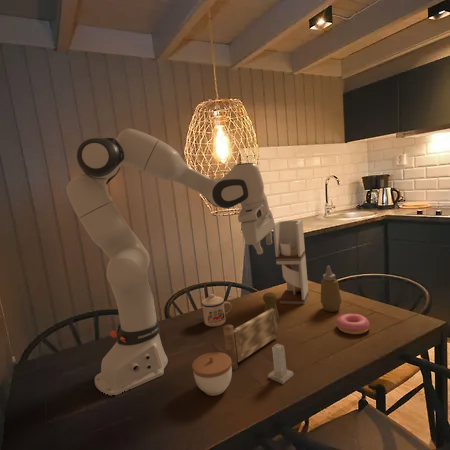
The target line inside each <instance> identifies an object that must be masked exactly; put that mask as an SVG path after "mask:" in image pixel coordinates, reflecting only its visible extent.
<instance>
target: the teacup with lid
mask: <svg viewBox="0 0 450 450" xmlns="http://www.w3.org/2000/svg"><path fill="white" fill-rule="evenodd" d="M225 305H228V309H227V311H226V310H225ZM201 306H202V312H203V320H204V324H205V326H207V327H219V326H222V325H223V324H225V322H226V321H227V319H226V315H227V314H229V313H230V312H231V311H232V304H231V303H230V302H229V301H225V300H224V298H223V297H221V296H218V295H217V296H216V295H215V294H214V293H210V294H209V296H208V297H206V298H204V299H203V300H202V301H201Z"/></svg>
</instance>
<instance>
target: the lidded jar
mask: <svg viewBox="0 0 450 450" xmlns="http://www.w3.org/2000/svg"><path fill="white" fill-rule="evenodd" d="M191 368H192V372H193V373H192V374H193V377H194V380H195V383H196V386H197V387H198V388H199V389H200V390H201V391H202V392H204V393H205V394H206V395H208V396H212V397H213V396H214V397H215V396H219V395H221V394H223V393H225V391H226V389H227V388H228V386H229V385H230V383H231V381H232V376H233V370H232V361H231V358H230V357H229V356H228V355H227V354H226V352H219V351H213V352H206V353H204V354H202V355H201V354H200V355H199V356H197V358H195V359H194V360H193V362H192V365H191Z"/></svg>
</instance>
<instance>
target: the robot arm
mask: <svg viewBox="0 0 450 450" xmlns="http://www.w3.org/2000/svg"><path fill="white" fill-rule="evenodd" d="M76 162H77V164H78V167H79V168H80V169H81V172H80V173H79V174H78V175H77V176H75V177H73V178H72V179H71V180H70V181H69V182H68V183H67V185H66V194H67V197H68V199H69V202H70V204H71V206H72V209H73V210H74V213H75V214H76V216H77V218H78V219H79V221H80V223H81V224H82V226H83V228H84V229H85V231H86V233H87V234H88V235H89V237H90V239H91V241H92V242H93V243H94V244H95V245H97V246H98V248H100V249H101V250H102V251H103V252H104V253H105V255H106V256H107V257H108V258H109V261H108V263H107V267H106V273H105V274H106V280H107V282H108V283H109V285H110V287H111V291H112V293H113V297H114V299H115V302H116V307H117V310H118V317H119V318H118V319H119V324H120V328H119V330H118V331H117V330H114V329H113V330H112V331H110V333H109V335H110V337H111V338H113V339H116V342H115V343H114V345H113V346H112V347H111V349H110V350H109V351H108V352H107V353H106V354H105V356H104V357H103V358H102V360H101V365H100V366H101V367H100V372H99V373H97V374H96V375H95V376H94V386H95V387H96V389H98V391H99V392H101V393H102V392H103V393H102V394H104V393H105V394H104V395H107V394H108V395H107V396H112V395H115V396H118V395H121V394H122V392H123V393H125V392H127V391H129V389H130V390H132V389H134V388H136V387H138V386H141V385H143V384H146V383H147V382H148V383H149V382H150V381H152V380H155V379H157V378H159V377H162V376H163V375H164V373H165V368H166V366H167V365H168V362H169V358H168V357H167V355H166V352H165V351H164V347H163V345H162V344H163V343H162V341H161V336H160V334H161V330H160V324H159V320H158V318H157V313H156V307H155V301H154V300H155V299H154V295H153V293H152V289H151V286H150V282H149V276H148V275H149V274H148V271H149V270H148V269H149V267H150V262H151V258H150V254H149V252H148V250H147V249H146V247H145V246H144V245H143V243H142V242H141V241H140V239H139V237H137V235H136V234H135V232H134V231H133V230H132V229H131V227H130V226H129V225H128V223H127V221H126V220H125V218H124V217H123V215H122V213H121V211H120V210H119V208H118V206H117V205H116V203H115V201H114V200H113V198H112V196H111V195H110V193H109V191H108V188H107V185H108V184H109V183H110V181H112V180H113V179H114V178H115V177H116V176H117V175H118V173H119V172H120V170H121V167H123V166H129V167H133V168H135V169H138V170H139V171H141V172H144V173H145V174H147V175H149V176H152V177H155V178H158V179H161V180H165V181H170V182H175V183H176V182H177V183H179V184H182V185H184V186H186V187H188V188H190V189H192V190H193V191H196V192H198V193H199V194H201V195H202V196H203V197H204V198H205V199H206V201H207V202H208V203H209V204H210V205H212V206H214V207H215V208H222V209H230V208H231V209H232V208H233V207H235V206H237V205H239V204H240V206H241V209H240V212H239V214H238V215H237V219H238V220H237V221H238V222H239V223H241V224H240V228H241V231H242V236H243V238H244V242H245V243H246V245H247V246H251V245H252V246H253V247H254V249H255V250H256V254H257V255H263V253H264V248H263V247H262V246H261V241H262V240H263V239H264V238H265V244H266V246H271V245H272V244H273V239H272V236H273V235H272V234H273V233H272V231H273V229H274V228H275V224H276V223H275V219H274V217H273V213H272V211H271V209H270V207H269V202H268V198H267V195H266V193H265V185H264V181H263V178H262V175H261V171H260V168H259V167H258V165H257V164H256V163H253V162H243V163H236V164H234V165H233V166H232V167H233V168H231V170H229V172H228V173H226V174H225V175H224V176H223V177H221V178H213V177H210V176H208V175H205V174H203V173H202V172H200V171H198V170H196V169H194V168H192V167H191V166H189V165H188V164H187V163H186V162H185V161H184V159H183V158H182V156H181V155H180V153H179V152H178V151H177V150H176V149H174V148H173V146H171V145H169V144H168V143H166V142H164V141H163V140H161V139H158V138H157V137H156V136H153V135H150V134H148V133H146V132H144V131H141V130H137V129H134V128H130V127H129V128H125V129H124V130H122V131H121V132H120V133H118V135H117V136H116V138H114V137H95V138H94V137H93V138H88V139H86V140H84V141H83V142H82V143H80V145H79V147H78V148H77V151H76ZM124 391H125V392H124Z"/></svg>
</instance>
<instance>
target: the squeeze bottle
mask: <svg viewBox="0 0 450 450" xmlns="http://www.w3.org/2000/svg"><path fill="white" fill-rule="evenodd" d="M331 268H332V267H331V266H330V265H327V266H326V270H325V273H324V274H322V276H323V277H322V280H320V303H321V306H322V308H323V310H324V311H326V312H331V313H333V312H338V311H339V310H340V307H341V304H342V297H341V296H342V295H341V292H340V291H341V290H340V286H339V281H338V280H337V279H336V274H335V273H333V272H332V269H331Z"/></svg>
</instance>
